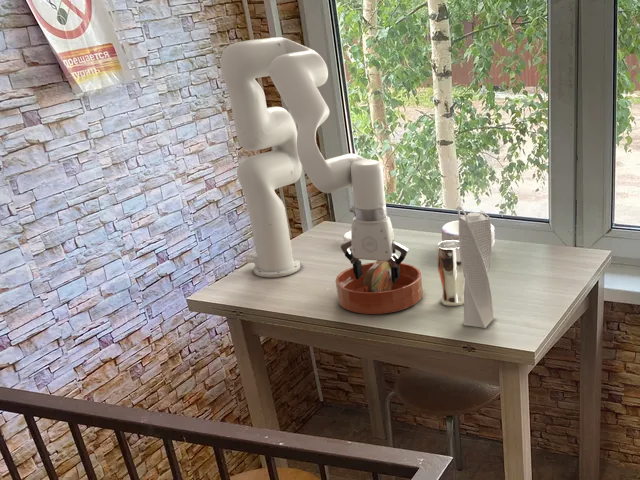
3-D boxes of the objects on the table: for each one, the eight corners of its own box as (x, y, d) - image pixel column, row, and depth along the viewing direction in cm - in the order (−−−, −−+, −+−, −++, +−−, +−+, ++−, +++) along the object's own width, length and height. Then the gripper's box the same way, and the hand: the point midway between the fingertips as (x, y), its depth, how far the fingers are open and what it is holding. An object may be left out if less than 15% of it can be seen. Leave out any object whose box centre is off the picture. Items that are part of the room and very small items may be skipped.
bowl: (325, 312, 194) (322, 290, 192) (357, 280, 212) (354, 259, 210) (407, 318, 191) (405, 295, 188) (432, 285, 209) (431, 263, 206)
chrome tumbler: (457, 309, 195) (453, 251, 187) (434, 303, 198) (430, 246, 191) (473, 299, 200) (470, 242, 192) (450, 294, 203) (447, 238, 196)
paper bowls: (505, 249, 231) (504, 223, 228) (475, 265, 220) (474, 238, 216) (462, 241, 239) (461, 215, 235) (432, 256, 228) (430, 229, 224)
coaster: (350, 239, 243) (349, 228, 241) (382, 239, 241) (380, 228, 239) (340, 250, 234) (338, 238, 232) (372, 251, 233) (371, 239, 231)
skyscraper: (456, 326, 186) (449, 210, 172) (469, 313, 192) (463, 200, 178) (487, 330, 184) (482, 213, 170) (499, 318, 190) (495, 203, 176)
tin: (375, 308, 195) (371, 276, 190) (363, 307, 195) (359, 275, 191) (395, 285, 207) (392, 255, 203) (384, 284, 208) (380, 254, 204)
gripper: (331, 215, 189) (339, 281, 198) (400, 219, 186) (405, 287, 194) (343, 206, 195) (350, 270, 204) (410, 210, 192) (414, 275, 201)
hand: (377, 278), depth 199 cm, fingers open, 9 cm apart
